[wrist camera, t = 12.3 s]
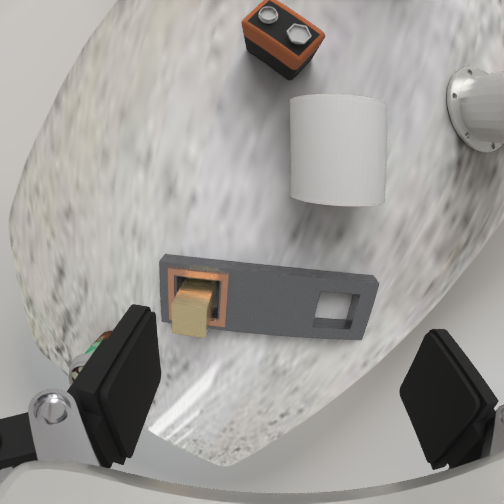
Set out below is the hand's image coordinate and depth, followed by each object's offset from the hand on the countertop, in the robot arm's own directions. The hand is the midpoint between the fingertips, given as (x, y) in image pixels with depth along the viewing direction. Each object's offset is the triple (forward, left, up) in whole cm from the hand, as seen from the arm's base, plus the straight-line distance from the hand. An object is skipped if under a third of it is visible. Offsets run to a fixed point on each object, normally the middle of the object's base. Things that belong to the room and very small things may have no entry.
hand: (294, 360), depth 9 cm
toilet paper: (-6, -7, -29) cm, 30 cm away
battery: (+1, -18, -28) cm, 34 cm away
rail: (-1, +13, -28) cm, 31 cm away
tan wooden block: (+8, +13, -28) cm, 32 cm away
